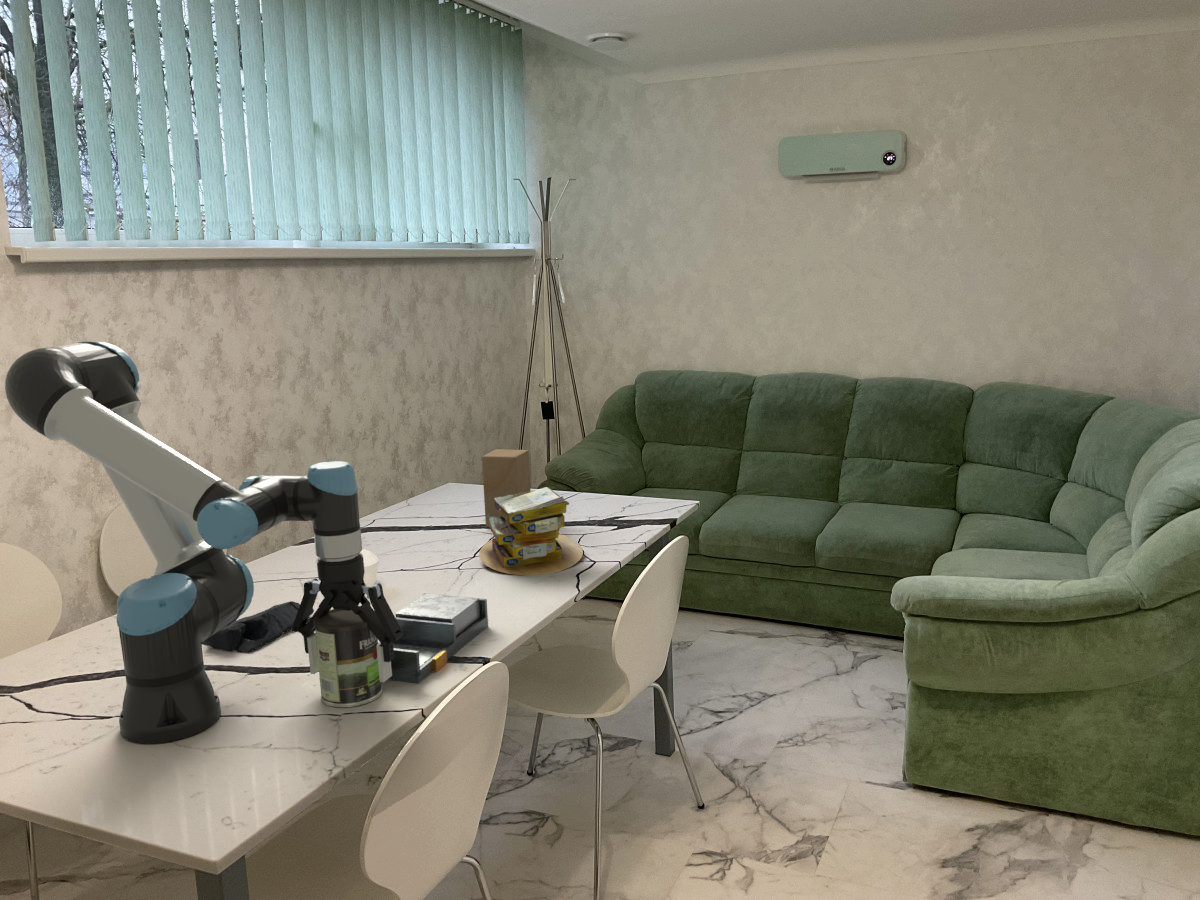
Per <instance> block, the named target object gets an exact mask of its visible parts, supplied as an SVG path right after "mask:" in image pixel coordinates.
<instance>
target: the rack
mask: <svg viewBox="0 0 1200 900" xmlns="http://www.w3.org/2000/svg"><path fill="white" fill-rule="evenodd" d="M395 618H396V620H397V622H398V624H399V626H400V628H401V630H402V631H403V636H402V637H401V638H399V639H398V640H397V641H395V642H393V647H394V659H393V660H391V669H392V676H391V677H390V678H389V679H387V680H386V681H395V682H405V683H410V684H411V683H414V684H420V683H421V682H422V681H424V680H425V679H427V677H429V676H430V675H431V674H432V673H433V672H434V673H437V672H438V671H440V670H441V669H442V668H444V666H446V665H447V664H448V660H449V659H450V658H451V657H453V656H454V655H456V653H458V652H459V651H460V650H461V649H462V648H464V647H465V646H466V645H468V644H469V643H470V642H471V641H472V640H473V639H475V638H476V637H477V636H478V635H480V633H482V632H484V630H486V629H487V628H488V627H489V616H488V600H487V598H480V597H479V598H477V597H467V596H457V595H444V594H434V593H425V592H424V593H422V595H421V596H419V597H418V598H417V599H415V600H413V601H412V602H411V603H409V604H408V605H406V606H405V607H403V608H402V609H400V610H398V611H397V612H395ZM379 643H380V641H378V644H379Z"/></svg>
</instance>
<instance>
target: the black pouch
mask: <svg viewBox="0 0 1200 900" xmlns="http://www.w3.org/2000/svg"><path fill="white" fill-rule="evenodd" d="M300 604H301V603H299V602H297V601H296V602H295V601H292V600H291V601H287V602H283V603H280V604H275V605H272V606H270V607H269V608H267V609H265V610H263V611H260V612H258V613H254V614H251V615H249V616H244V617H242V618H240V619H239V618H238V619H237V620H236V621H235V622H234V623H232V624H230V625H228V626H226V627H224V628H222V629H221V630H220V631H218V632H217V633H215V634H214V635H212V636H211V637H209V638H208V639H206V640H205V641H203V642H202V643H201V644H202V646H206V647H207V646H208V647H211V648H212V649H213V650H214V649H215V650H220V651H225V652H239V653H241V652H246V653H251V652H254V651H256V650H257V649H258V648H260V647H262V646H265V645H266V644H269V643H271V642H272V641H275V640H276V639H277V638H279V637H281V636H282V635H283V634H285V633H287V632H288V631H289V630H292V626H293V624H294V621H295V618H296V615H297V612H298V609H299V607H300ZM314 613H315V609H314V607H313V608H312V611H311V614H310V616H313V615H314Z"/></svg>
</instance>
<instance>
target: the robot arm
mask: <svg viewBox="0 0 1200 900" xmlns="http://www.w3.org/2000/svg"><path fill="white" fill-rule="evenodd" d="M136 365H137V364H136V363H135V361H133V359H132V358H131V356H130V355H129V354H128V353H127V352H126V351H125V350H124V349H122V348H120V347H119V346H117V345H115V344H111V343H110V342H105V341H91V340H90V341H85V340H84V341H80V342H77V343H72V344H66V345H65V344H64V345H59V346H51V347H43V348H36V349H32V350H29V351H27V352H25V353H24V354H22V355H21V356H20V357H17V358H16V360H15V361H14V362H13V363H12V365H10V367H9V369H8V370H7V371H8V372H7V373H6V377H5V384H4V390H5V395H6V399H7V401H8V403H9V407H11V409H12V411H14V413H15V414H16V416H17V417H18V418H20V420H22V422H23V423H25V424H26V425H27V426H29V427H30V428H31V429H33V430H34V431H35V432H37V433H39V434H40V435H42V436H43V437H45V438H46V439H48V440H50V441H57V442H58V441H61V440H63V441H64V442H67V443H68V444H70V445H72V446H73V447H74V448H76V449H77V450H79V451H80V452H82V453H84V454H86V455H88V456H89V457H90V458H92V459H94V460H96V461H97V462H98V463H100V464H101V465H102V467H103V468H104V470H105V472H106V474H107V475H108V476H107V477H109V479H110V480H111V482H112V484H113V486H114V488H115V490H116V491H117V493H118V496H119V497H120V498H121V500H122V502H123V504H124V505H125V507H126V509H127V512H129V515H130V517H131V518H132V520H133V522H134V523H135V525H136V527H137V528H138V530H139V532H140V534H141V536H142V538H143V539H144V541H145V543H146V545H147V546H148V549H149V550H150V551H151V553H152V555H153V558H154V559H155V560H156V563H157V564H156V567H155V571H154V573H153V575H152V576H150V577H149V578H142V579H140V580H137V581H136V582H134V583H132V584H130V585H129V586H127V587H125V589H123V591H122V592H121V593H120V594H119V595H118V598H117V602H116V624H117V627H118V632H119V638H120V639H119V641H120V645H121V653H122V661H123V667H124V668H123V669H124V674H125V676H124V677H125V682H126V687H125V691H124V696H123V701H122V706H121V707H122V710H121V711H120V714H119V717H118V719H119V721H118V723H119V730H120V731H119V732H120V735H121V737H122V738H124V739H125V740H126V741H128V742H131V743H136V744H162V743H168V742H173V741H174V742H175V741H177V740H182V739H185V738H189V737H191V736H194V735H196V734H199V733H201V732H203V731H206V730H207V729H208V728H210V727H211V726H213V725H214V724H215V723H216V722H217V721H218V720H219V719H220V717H221V715H222V710H221V701H220V698H219V696H218V694H217V693H216V692H215V690H214V688H213V685H212V683H211V681H210V677H208V674H207V673H206V669H205V664H204V655H203V654H204V653H203V645H202V644H201V643H202V642H203V641H205V640H206V639H208V638H209V637H211V636H212V635H214V634H215V633H217V632H218V631H220V630H221V629H222V628H224V627H226V626H228V625H230V624H232V623H234V622H235V621H237V620H239V618H240V617H241V616H242V615H243V614H244V613H246V611H247V610H248V609H249V607H250V605H251V603H252V601H253V597H254V592H255V586H254V579H253V575H252V573H251V571H250V569H249V567H248V566H247V565H246V563H245V562H244V561H242V560H241V558H239V557H234V555H232V554H229V553H228V554H227V553H225V552H224V550H229V549H232V548H235V547H237V546H238V547H239V546H240V545H243V544H246V543H247V542H249V541H251V540H252V539H253V538H254V537H256V536H258V535H260V534H261V533H263V532H266V531H267V530H270V529H271V528H273V527H275V526H277V525H279V524H280V523H282V522H309V521H312V527H313V538H314V539H313V540H314V550H315V552H314V553H315V555H316V556H317V557H318V558H317V559H316V568H317V577H313V578H311V579H309V580H308V581H306V582H304V584H303V596H302V599H301V602H300V603H299V604H300V607H299V609H298V612H297V615H296V618H295V621H294V624H293V626H292V629H291V630H292V632H293V633H299V634H301V636H302V637H303V647H304V652H305V654H308V661H309V673H310V674H311V675H315V674H317V673H319V666H318V655H317V645H316V633H315V626H314V622H313V621H314V618H315V617H322V616H324V615H325V614H327V613H328V612H329V611H330V610H333V609H335V610H338V609H343V610H346V611H350V610H352V611H353V612H354V613H355V614H357V615H359V617H360V618H361V619H362V620H363V622H367V626H368V628H369V629H370V630H371V631H372V633H373V634H374V635H375V636H376V638H377V639H378V643H379V642H380V643H379V644H377V645H376V646H377V657H378V668H379V679H380V682H381V683H385V682H386V681H388V680H387V679H389V678H390V677H391V676H392V669H391V660H393V659H394V647H393V642H395V641H397V640H398V639H399V638H401V637H402V636H403V631H402V630H401V628H400V626H399V624H398V622H397V620H396V618H395V617H396V615H395V613H394V612H393V611H392V609H391V607H390V605H389V603H388V601H387V599H386V597H385V594H384V591H383V586H382V584H381V583H380V582H377V583H375V584H371V585H366V583H365V581H364V577H365V562H364V555H363V554H362V551H363V544H362V543H363V542H362V540H363V539H362V532H361V531H362V530H361V524H360V511H359V497H358V493H359V488H358V485H357V479H356V471H355V469H354V468H355V467H354V466H353V465H352V464H351V463H350V462H347V461H344V460H342V461H341V460H338V461H337V460H335V461H334V460H333V461H324V462H323V461H322V462H317V463H314V464H311V465H310V466H309V467H308V468H307V474H306V475H271V474H262V475H252V476H247V477H246V478H244V479H243V481H242V484H241V485H240V484H239V485H240V486H239V487H238V488H237V487H235V486H233V484H230V483H228V482H227V481H226V480H224V479H222V478H220V477H218V476H217V475H215V473H214V474H213V473H212V472H210V471H209V470H207V469H206V468H204V467H202V466H200V465H199V464H197V463H196V462H195V461H193V460H191V459H189V458H188V457H186V456H185V455H183V454H181V453H180V452H179V451H176V450H175V449H174V448H172V447H170V446H169V445H168V444H165V443H164V442H162V441H160V440H159V439H157V438H156V437H154V436H153V435H151V434H149V433H148V432H147V431H146V428H145V427H144V425H143V423H142V422H141V420H140V418H139V412H140V409H141V405H142V402H141V401H140V398H139V397H138V396H137V395H138V394H137V393H138V391H139V388H140V386H139V384H138V383H139V382H140V374H139V370H138V367H137V366H136ZM319 592H320V593H321V595H322V597H323V599H322V600H321V602H320V603H319V605H318V607H317V609H316V611H314V612H313V614H312V615H310V614H311V611H312V608H313V609H314V606H315V602H316V599H317V597H318V594H319ZM360 604H361V605H360ZM310 616H311V618H310Z"/></svg>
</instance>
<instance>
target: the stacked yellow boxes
mask: <svg viewBox="0 0 1200 900" xmlns="http://www.w3.org/2000/svg"><path fill="white" fill-rule="evenodd" d="M530 491H531V492H530ZM530 491H529V492H530V493H528V492H526V493H527V494H525V493H524V492H523V493H520V492H519V494H515V495H516V496H515V495H508V496H504V497H498V498H495V499H494V506H495V510H496V511H498V512H499V514H501V515H502V516H499V515H495V516H494V515H490V514H488V515H489V524H490V528H489V530H490V531H491V533H492V535H493V537H494V538H491V540H488V541H487V542H486V543H485V544H483V545H482V547H481V548H480V550H479V558H480V561H481V563H483V564H484V565H485V566H487V567H488V568H490V569H492V570H494V571H496V572H500V573H504V574H507V575H516V576H537V575H544V574H553V573H558V572H562V571H564V570H567V569H569V568H571V567H574V565H576V564H577V563H578V562H579V561H580V560H581V559H582V557H583V555H584V551H583V548H582V546H581V545H580V543H578V542H577V541H576V540H574V539H573V538H571V537H569V536H566V535H564V534H560V529H562V528H564V527H565V526H566V525H565V519H566V518H565V515H564V514H566V513H567V506H569V505H570V502H568V500H565V498H564V496H563V495H560V494H558V493H557V492H555V491H554V489H551V488H550V487H547V486H545V487H541V488H538V489H536V490H530Z"/></svg>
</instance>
